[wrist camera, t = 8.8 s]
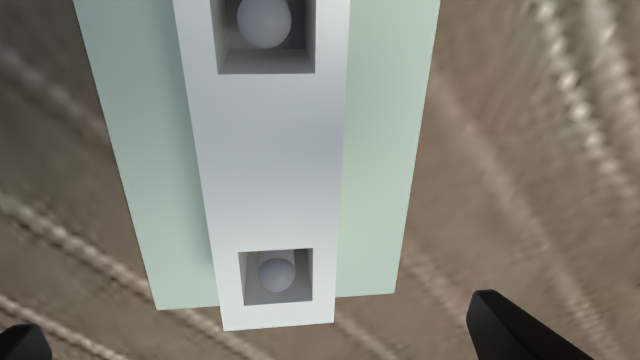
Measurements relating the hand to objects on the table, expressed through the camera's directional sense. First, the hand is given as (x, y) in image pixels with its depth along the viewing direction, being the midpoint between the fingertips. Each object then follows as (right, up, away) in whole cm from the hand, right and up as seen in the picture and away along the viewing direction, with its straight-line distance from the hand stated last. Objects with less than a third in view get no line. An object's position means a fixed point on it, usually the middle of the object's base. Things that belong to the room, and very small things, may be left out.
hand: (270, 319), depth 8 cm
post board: (-1, +6, +10) cm, 12 cm away
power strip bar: (-1, +5, +9) cm, 10 cm away
